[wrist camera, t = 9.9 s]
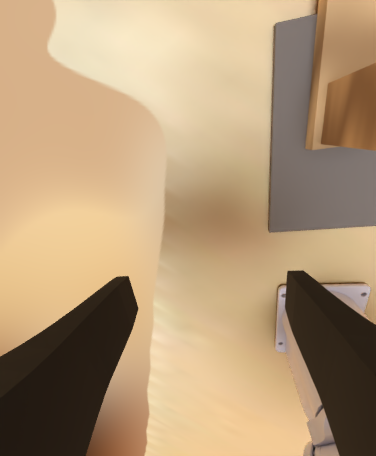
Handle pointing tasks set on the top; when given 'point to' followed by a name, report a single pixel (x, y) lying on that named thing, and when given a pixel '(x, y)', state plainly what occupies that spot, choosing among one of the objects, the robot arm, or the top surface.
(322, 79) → the brown l-shaped block
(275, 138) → the mat
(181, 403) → the top surface
